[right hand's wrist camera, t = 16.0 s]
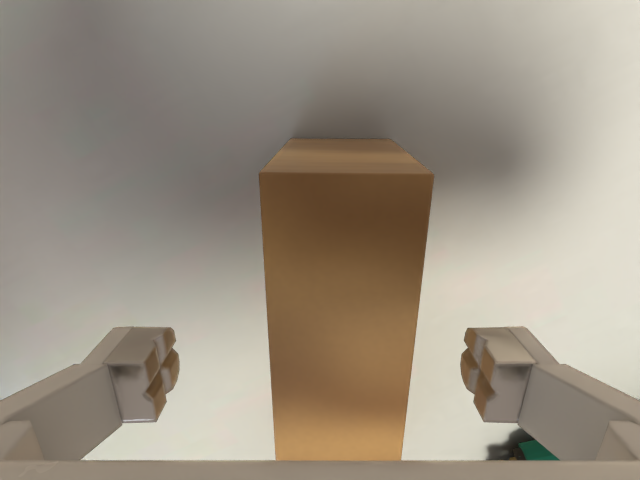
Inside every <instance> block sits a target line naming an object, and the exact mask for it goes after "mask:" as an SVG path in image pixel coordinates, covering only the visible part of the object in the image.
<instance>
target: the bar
mask: <svg viewBox="0 0 640 480" xmlns="http://www.w3.org/2000/svg"><path fill="white" fill-rule="evenodd" d="M433 181H434V174H433V173H432V172H431V171H429V170H428V169H427V168H426V167H425V166H423V165H422V164H421V163H420V162H418V161H417V160H416V159H415V158H413V157H412V156H411V155H410V154H408V153H407V152H406V151H405V150H403V149H402V148H401V147H400V146H399V145H397V144H396V143H395V142H394V141H392V140H391V139H299V138H291V139H290V140H289V141H288V142H287V143H286V144H285V145H284V146H283V147H282V148H281V149H280V151H279V152H278V153H277V154H276V155H275V156H274V157H273V158H272V159H271V160H270V161H269V162H268V164H267V165H266V166H265V167H264V168H263V169H262V170H261V171H260V172H259V186H260V203H261V220H262V236H263V253H264V270H265V287H266V304H267V321H268V337H269V354H270V371H271V388H272V405H273V422H274V438H275V455H276V460H346V461H401V455H402V446H403V438H404V429H405V421H406V412H407V403H408V395H409V386H410V378H411V369H412V361H413V352H414V344H415V335H416V326H417V318H418V309H419V301H420V292H421V284H422V275H423V267H424V258H425V249H426V241H427V232H428V224H429V215H430V207H431V198H432V190H433Z"/></svg>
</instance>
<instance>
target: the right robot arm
mask: <svg viewBox="0 0 640 480" xmlns="http://www.w3.org/2000/svg"><path fill="white" fill-rule="evenodd" d="M175 342H176V338H175V333H174V330H173V329H172V328H171V327H115V328H113V329H112V330H111V331H110V332H109V333H108V334H107V335H106V336H105V338H104V339H103V340H102V341H101V342H100V343H99V344H98V345H97V346H96V347H95V349H94V350H93V351H92V352H91V353H90V354H89V355H88V356H87V357H86V358H85V359H84V361H83V362H82V363H81V364H74V365H72V366H70V367H68V368H66V369H63V370H61V371H59V372H57V373H55V374H53V375H51V376H49V377H47V378H45V379H43V380H41V381H39V382H37V383H35V384H33V385H31V386H29V387H27V388H25V389H23V390H21V391H19V392H17V393H15V394H13V395H11V396H9V397H7V398H5V399H3V400H0V480H640V401H639V400H637V399H635V398H633V397H631V396H629V395H627V394H625V393H623V392H621V391H619V390H617V389H615V388H613V387H611V386H609V385H607V384H605V383H603V382H601V381H599V380H597V379H595V378H593V377H591V376H589V375H587V374H585V373H583V372H581V371H579V370H576V369H574V368H572V367H570V366H568V365H566V364H559V363H558V362H557V361H556V360H555V358H554V357H553V356H552V355H551V354H550V353H549V352H548V351H547V350H546V349H545V347H544V346H543V345H542V344H541V343H540V342H539V341H538V340H537V339H536V338H535V336H534V335H533V334H532V333H531V332H530V331H529V330H528V329H527V328H525V327H523V326H517V327H491V328H467V330H466V332H465V337H464V342H465V343H466V345H467V347H468V348H467V349H466V350H465V351H464V352H463V353H462V355H461V363H460V366H461V375H462V378H463V382H464V384H465V386H466V388H467V389H468V390H469V391H470V392H472V393H473V394H475V396H474V401H473V402H474V404H475V406H476V408H477V410H478V412H479V414H480V416H481V418H482V419H483V421H484V422H497V423H518V425H519V426H520V427H521V428H522V429H523V430H525V431H526V432H527V433H528V434H529V435H531V436H532V437H533V438H534V439H535V440H537V441H538V442H539V443H540V444H541V445H543V446H544V447H545V448H546V449H547V450H549V451H550V452H551V453H552V454H553V455H555V456H556V457H557V458H558V459H559V460H488V461H346V460H128V461H103V460H81V459H82V458H83V457H84V456H86V455H87V454H88V453H89V452H90V451H92V450H93V449H94V448H95V447H96V446H98V445H99V444H100V443H101V442H102V441H104V440H105V439H106V438H107V437H108V436H110V435H111V434H112V433H113V432H114V431H116V430H117V429H118V428H119V427H120V426H122V423H142V422H156V421H157V420H158V418H159V416H160V414H161V412H162V410H163V408H164V406H165V404H166V402H167V401H166V396H165V394H167V393H168V392H170V391H171V390H172V389H173V388H174V386H175V384H176V382H177V378H178V374H179V355H178V353H177V352H176V351H175V350H174V349H173V348H172V347H173V345H174V343H175Z"/></svg>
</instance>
